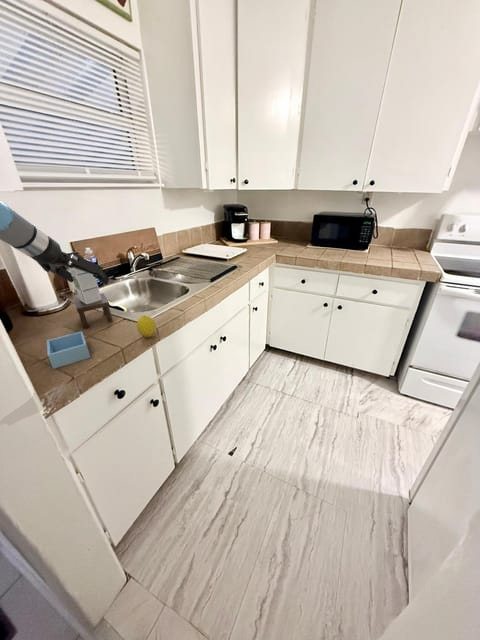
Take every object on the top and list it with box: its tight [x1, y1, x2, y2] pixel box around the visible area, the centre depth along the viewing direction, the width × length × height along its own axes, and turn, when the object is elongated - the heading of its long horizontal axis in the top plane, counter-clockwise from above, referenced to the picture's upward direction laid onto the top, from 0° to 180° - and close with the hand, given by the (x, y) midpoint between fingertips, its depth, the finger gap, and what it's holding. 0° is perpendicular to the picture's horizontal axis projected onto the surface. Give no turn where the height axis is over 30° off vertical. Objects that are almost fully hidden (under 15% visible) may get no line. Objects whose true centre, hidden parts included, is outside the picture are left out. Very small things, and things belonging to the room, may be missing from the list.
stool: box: [73, 292, 114, 330], centre depth 94 cm, size 10×10×8 cm
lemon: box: [136, 314, 156, 338], centre depth 84 cm, size 6×6×8 cm
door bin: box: [46, 331, 91, 370], centre depth 76 cm, size 9×9×4 cm
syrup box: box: [68, 257, 102, 304], centre depth 89 cm, size 6×6×14 cm
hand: (90, 280), depth 91 cm, fingers open, 13 cm apart
